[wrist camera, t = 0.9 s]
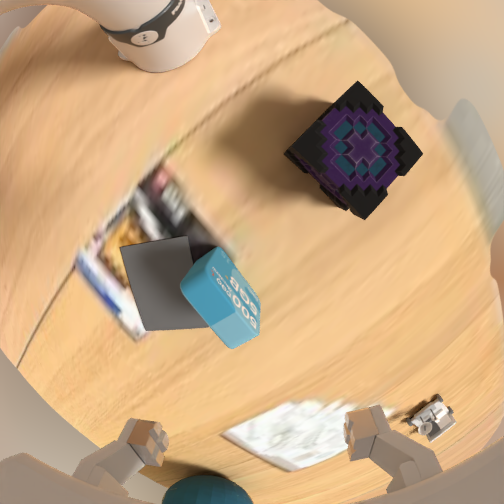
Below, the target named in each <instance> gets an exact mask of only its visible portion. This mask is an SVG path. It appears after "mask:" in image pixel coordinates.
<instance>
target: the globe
mask: <svg viewBox="0 0 504 504" xmlns="http://www.w3.org/2000/svg"><path fill="white" fill-rule="evenodd" d="M162 504H254V503H253V501H252V499H251V497H250V496H249V495H248V494H247V492H246V491H245V490H244V489H243V488H241V487H240V486H239V485H237V484H236V483H234V482H232V481H230V480H228V479H225V478H222V477H218V476H212V475H196V476H191V477H187V478H184V479H182V480H180V481H178V482H177V483H175V484H173V485H172V486H171V487H170V488H169V489H168V490H167V491H166V493H165V495H164V497H163V500H162Z"/></svg>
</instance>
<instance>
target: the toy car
mask: <svg viewBox="0 0 504 504" xmlns="http://www.w3.org/2000/svg"><path fill="white" fill-rule="evenodd" d="M436 397H437V399H436V400H435V401H433V402H430V403H429V404H428V405H426V406H425V407H424V408H423V409H421V410H420V411H419V412H417V413H416V414H415V415H414V417H413V418H412V419H409V418H407V419H406V421H407V423H408V424H409V426H412V425H413V424H415V425H416V426H417V427H419V428H418V432H419V434H421V435H426V436H427V438H428V440H429V442H430V443H431V442H432V441H434V440H435V439H437V438H438V437H439V436H441V435H442V434H443V433H444V432H446V431H447V430H448V429H450V428H451V427H452V426H453V425H455V424H456V423H457V422H456V421H455V419H454V417H453V416H452V414H453V413H454V412H453V410H452V409H451V408H450V406H449V407H448V408H447V407H446V406H445V405H444V404H443V403H442V402H443V399H442V398H441V396H440V395H439V394H437V395H436Z"/></svg>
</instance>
